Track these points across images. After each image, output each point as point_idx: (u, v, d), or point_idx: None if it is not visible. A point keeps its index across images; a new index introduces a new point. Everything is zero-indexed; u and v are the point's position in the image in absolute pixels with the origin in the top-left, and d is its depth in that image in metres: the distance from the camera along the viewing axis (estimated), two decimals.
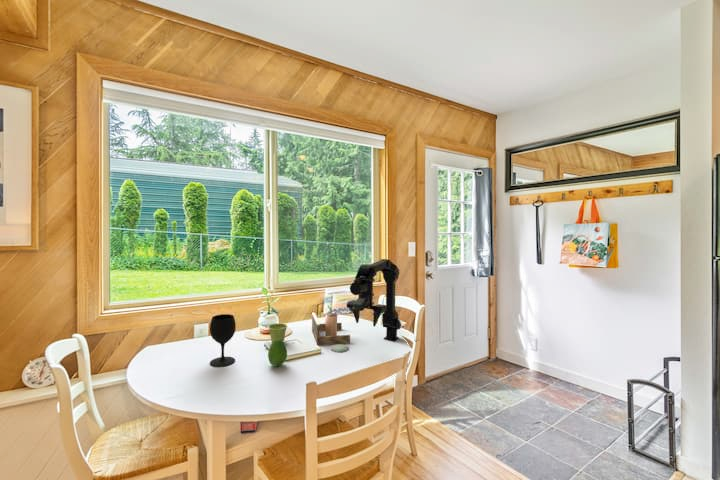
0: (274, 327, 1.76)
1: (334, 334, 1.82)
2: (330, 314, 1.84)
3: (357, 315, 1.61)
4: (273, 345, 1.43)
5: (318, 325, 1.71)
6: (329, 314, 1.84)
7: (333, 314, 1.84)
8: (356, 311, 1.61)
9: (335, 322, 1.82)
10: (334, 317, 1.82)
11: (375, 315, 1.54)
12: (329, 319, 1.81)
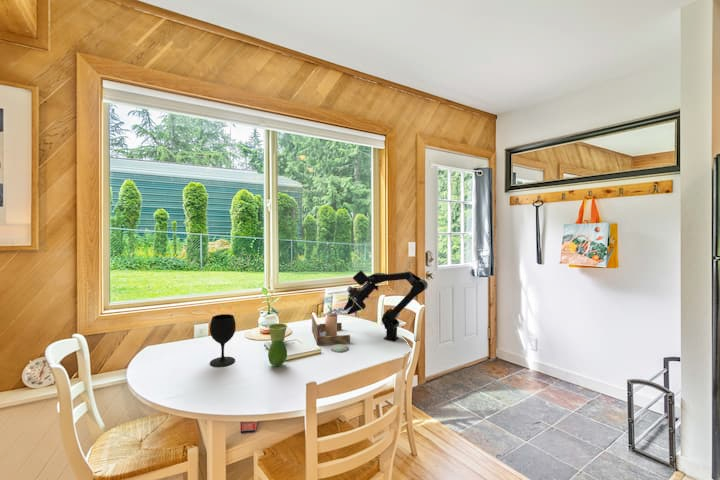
0: (274, 327, 1.76)
1: (334, 334, 1.82)
2: (330, 314, 1.84)
3: (348, 305, 1.91)
4: (273, 345, 1.43)
5: (318, 325, 1.71)
6: (329, 314, 1.84)
7: (333, 314, 1.84)
8: (350, 301, 1.91)
9: (335, 322, 1.82)
10: (334, 317, 1.82)
11: (353, 304, 1.80)
12: (329, 319, 1.81)
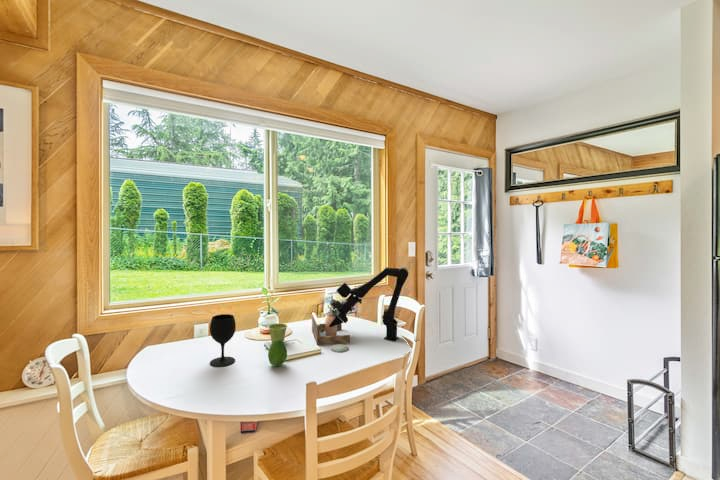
0: (274, 327, 1.76)
1: (334, 334, 1.82)
2: (330, 314, 1.84)
3: None
4: (273, 345, 1.43)
5: (318, 325, 1.71)
6: (329, 314, 1.84)
7: (333, 314, 1.84)
8: None
9: None
10: (334, 317, 1.82)
11: (335, 317, 1.80)
12: (329, 319, 1.81)
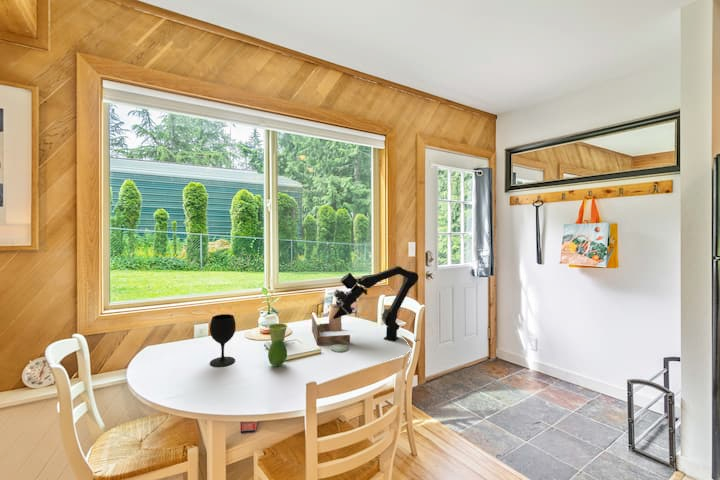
0: (274, 327, 1.76)
1: (338, 326, 1.74)
2: (334, 305, 1.76)
3: None
4: (273, 345, 1.43)
5: (318, 325, 1.71)
6: (333, 305, 1.76)
7: (337, 305, 1.76)
8: None
9: None
10: (338, 308, 1.74)
11: (339, 308, 1.72)
12: (333, 310, 1.73)
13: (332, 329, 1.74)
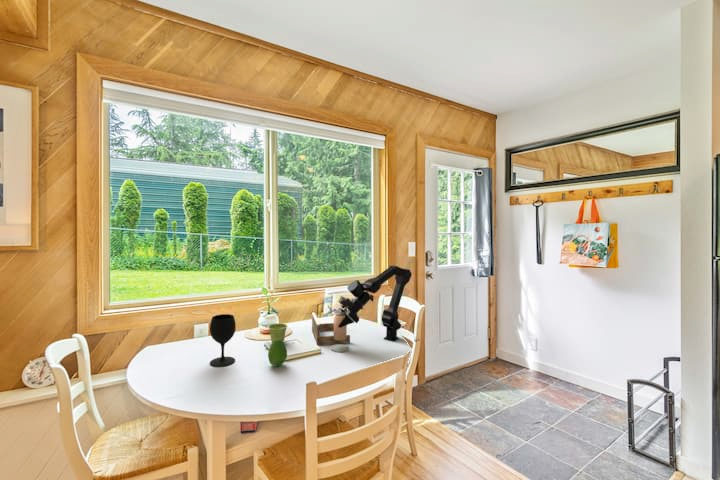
0: (274, 327, 1.76)
1: (344, 335, 1.65)
2: (339, 313, 1.66)
3: None
4: (273, 345, 1.43)
5: (318, 325, 1.71)
6: (338, 313, 1.66)
7: (342, 313, 1.66)
8: None
9: None
10: (344, 316, 1.64)
11: (345, 316, 1.62)
12: (338, 319, 1.63)
13: (337, 338, 1.64)
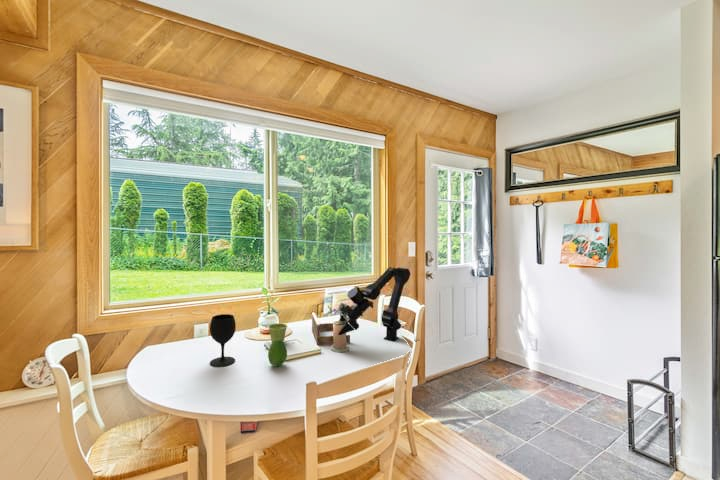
0: (274, 327, 1.76)
1: (343, 345, 1.65)
2: (338, 322, 1.66)
3: None
4: (273, 345, 1.43)
5: (318, 325, 1.71)
6: (337, 322, 1.66)
7: (341, 322, 1.66)
8: (342, 319, 1.72)
9: None
10: None
11: (345, 323, 1.61)
12: (337, 328, 1.64)
13: (337, 348, 1.64)
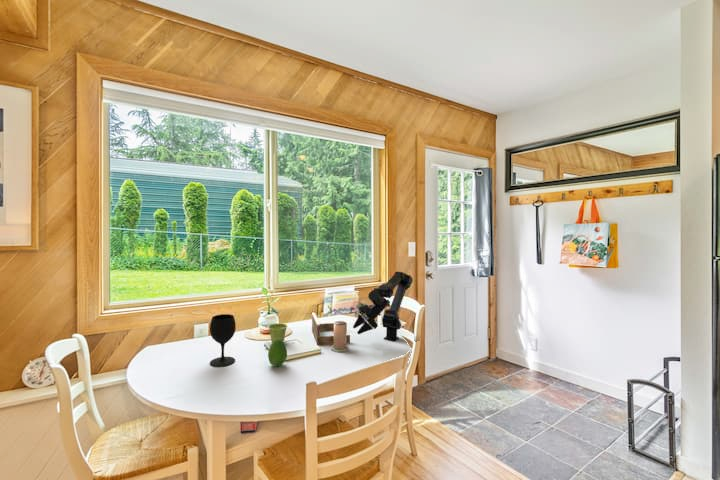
0: (274, 327, 1.76)
1: (343, 345, 1.65)
2: (339, 323, 1.66)
3: (358, 322, 1.74)
4: (273, 345, 1.43)
5: (318, 325, 1.71)
6: (338, 322, 1.66)
7: (342, 323, 1.66)
8: (360, 319, 1.74)
9: (344, 331, 1.65)
10: (344, 326, 1.64)
11: (364, 323, 1.63)
12: (338, 328, 1.64)
13: (337, 348, 1.64)
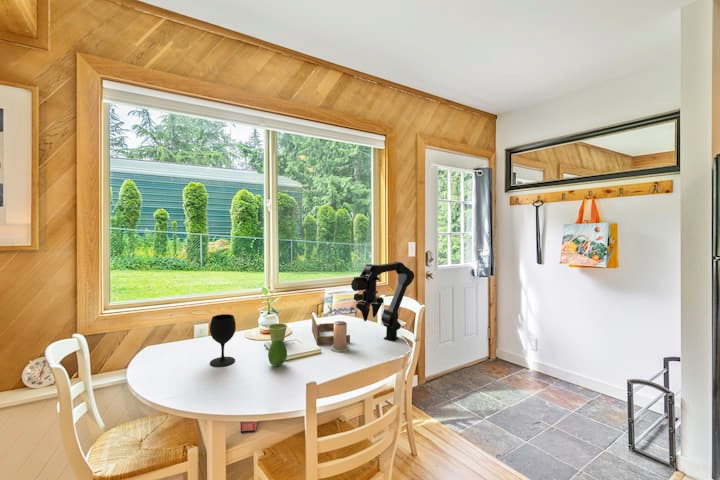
0: (274, 327, 1.76)
1: (343, 345, 1.65)
2: (339, 323, 1.66)
3: (374, 310, 1.78)
4: (273, 345, 1.43)
5: (318, 325, 1.71)
6: (338, 322, 1.66)
7: (342, 323, 1.66)
8: (373, 306, 1.79)
9: (344, 331, 1.65)
10: (344, 326, 1.64)
11: None
12: (338, 328, 1.64)
13: (337, 348, 1.64)
